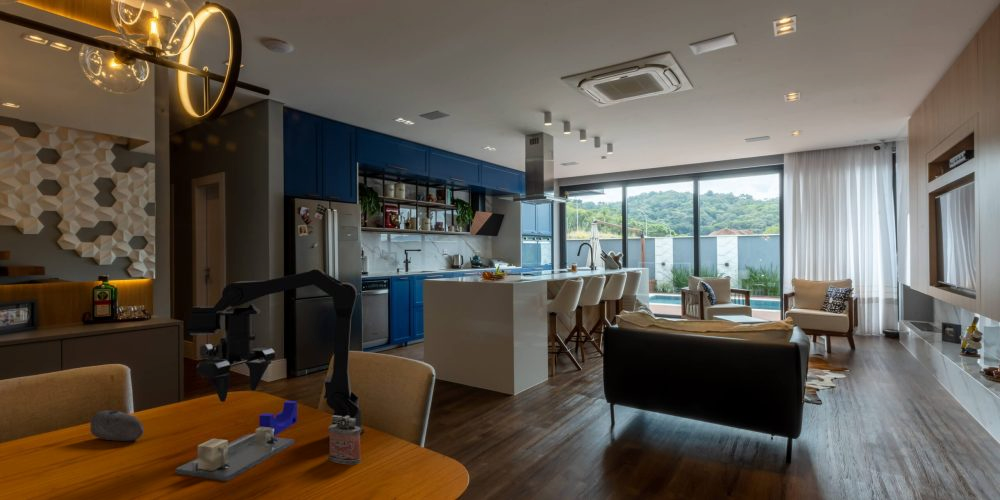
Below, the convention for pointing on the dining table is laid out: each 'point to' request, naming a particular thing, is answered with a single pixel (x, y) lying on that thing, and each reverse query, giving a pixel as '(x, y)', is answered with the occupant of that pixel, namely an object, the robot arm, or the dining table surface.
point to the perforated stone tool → (116, 426)
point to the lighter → (344, 440)
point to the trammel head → (212, 454)
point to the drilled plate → (241, 455)
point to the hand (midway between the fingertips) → (238, 395)
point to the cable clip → (280, 418)
